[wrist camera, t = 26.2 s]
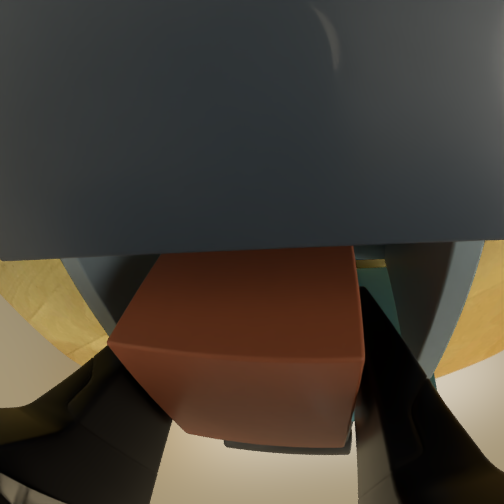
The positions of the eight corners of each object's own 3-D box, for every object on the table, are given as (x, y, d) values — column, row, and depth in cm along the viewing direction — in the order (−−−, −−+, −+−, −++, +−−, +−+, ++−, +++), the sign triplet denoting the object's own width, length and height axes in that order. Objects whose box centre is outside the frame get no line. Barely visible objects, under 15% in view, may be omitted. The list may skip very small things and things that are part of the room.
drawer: (391, 337, 17) (401, 453, 11) (215, 338, 19) (180, 441, 13) (406, 15, 7) (531, -20, 1) (121, 61, 10) (-30, 104, 4)
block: (221, 323, 11) (185, 433, 7) (184, 218, 8) (104, 342, 5) (345, 323, 10) (344, 448, 6) (347, 206, 7) (366, 359, 4)
